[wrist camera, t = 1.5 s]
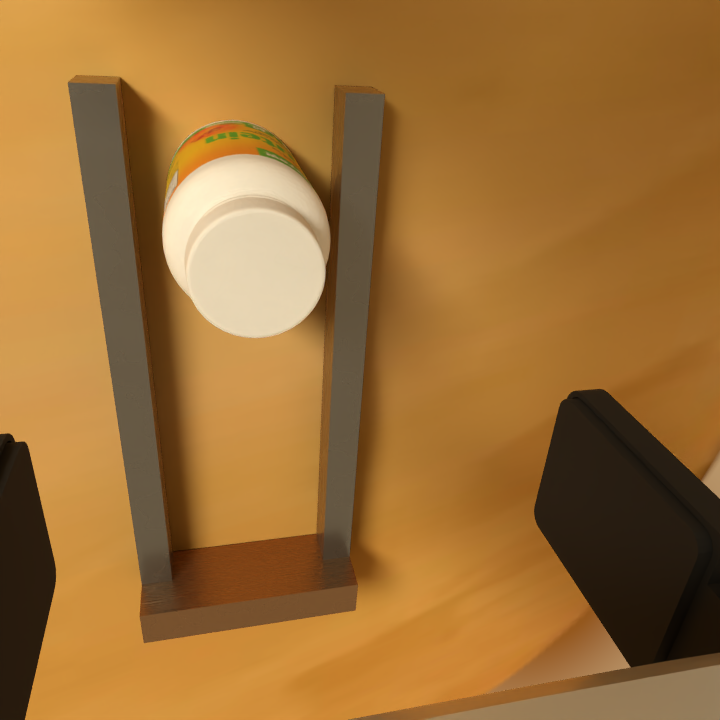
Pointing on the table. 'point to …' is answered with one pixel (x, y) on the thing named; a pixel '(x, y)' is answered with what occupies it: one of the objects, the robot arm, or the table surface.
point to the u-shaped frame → (138, 402)
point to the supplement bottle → (244, 230)
